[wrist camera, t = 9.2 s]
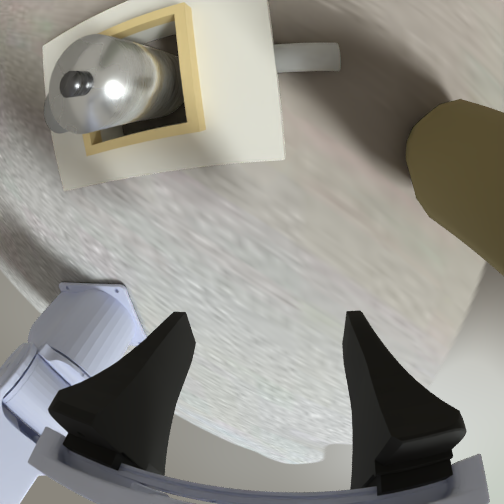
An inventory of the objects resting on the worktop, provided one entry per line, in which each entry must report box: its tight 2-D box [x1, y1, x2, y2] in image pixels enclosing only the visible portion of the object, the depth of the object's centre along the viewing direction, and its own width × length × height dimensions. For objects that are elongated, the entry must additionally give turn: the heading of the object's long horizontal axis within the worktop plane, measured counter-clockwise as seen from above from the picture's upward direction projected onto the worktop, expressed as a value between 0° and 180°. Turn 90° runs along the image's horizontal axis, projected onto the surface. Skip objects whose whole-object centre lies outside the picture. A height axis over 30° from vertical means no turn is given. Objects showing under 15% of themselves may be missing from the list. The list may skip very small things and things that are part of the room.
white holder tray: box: [43, 0, 341, 191], centre depth 14 cm, size 20×12×4 cm, turn 96°
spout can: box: [49, 34, 184, 134], centre depth 12 cm, size 5×5×9 cm
